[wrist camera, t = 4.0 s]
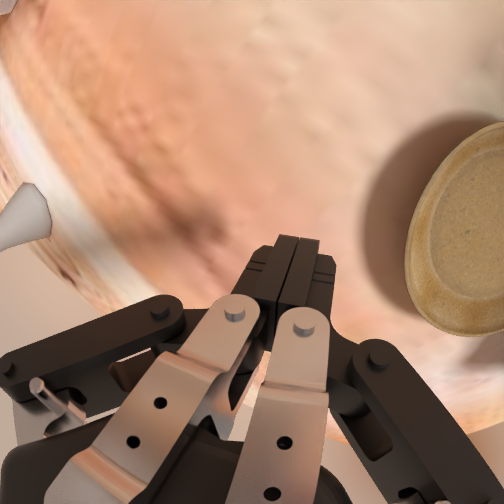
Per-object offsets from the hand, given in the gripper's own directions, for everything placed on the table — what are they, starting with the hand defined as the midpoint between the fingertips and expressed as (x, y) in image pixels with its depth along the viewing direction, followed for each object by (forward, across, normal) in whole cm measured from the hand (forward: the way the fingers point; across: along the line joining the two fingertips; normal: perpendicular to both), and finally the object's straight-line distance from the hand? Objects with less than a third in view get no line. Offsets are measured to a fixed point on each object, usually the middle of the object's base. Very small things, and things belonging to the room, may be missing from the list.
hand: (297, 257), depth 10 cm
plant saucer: (+7, -12, 0) cm, 14 cm away
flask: (+6, +31, +3) cm, 31 cm away
